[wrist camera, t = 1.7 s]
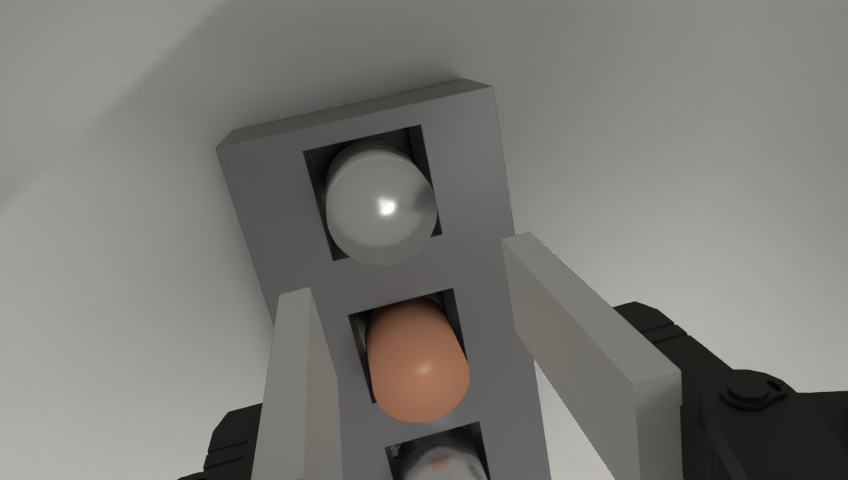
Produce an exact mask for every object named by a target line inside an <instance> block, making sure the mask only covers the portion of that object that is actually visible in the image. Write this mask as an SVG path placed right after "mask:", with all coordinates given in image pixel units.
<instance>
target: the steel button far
mask: <svg viewBox="0 0 848 480" xmlns="http://www.w3.org/2000/svg"><path fill="white" fill-rule="evenodd" d="M398 465H399V471H400V476H401V480H487V477H486V475H485V472H484V470H483V467H482V464H481V462H480V459H479V456H478V454H477V451H476V449H475V446H474V443H473V441H472V438H471V436H470V435H469V433H468V432H467V431H466V430H465V429H464V428H463V427H461V426H460V427H456V428H452V429H449V430H445V431H442V432H438V433H435V434H431V435H428V436H424V437H420V438H417V439H413V440H410V441H406V442H403V443H401V445H400V447H399V451H398Z"/></svg>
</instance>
